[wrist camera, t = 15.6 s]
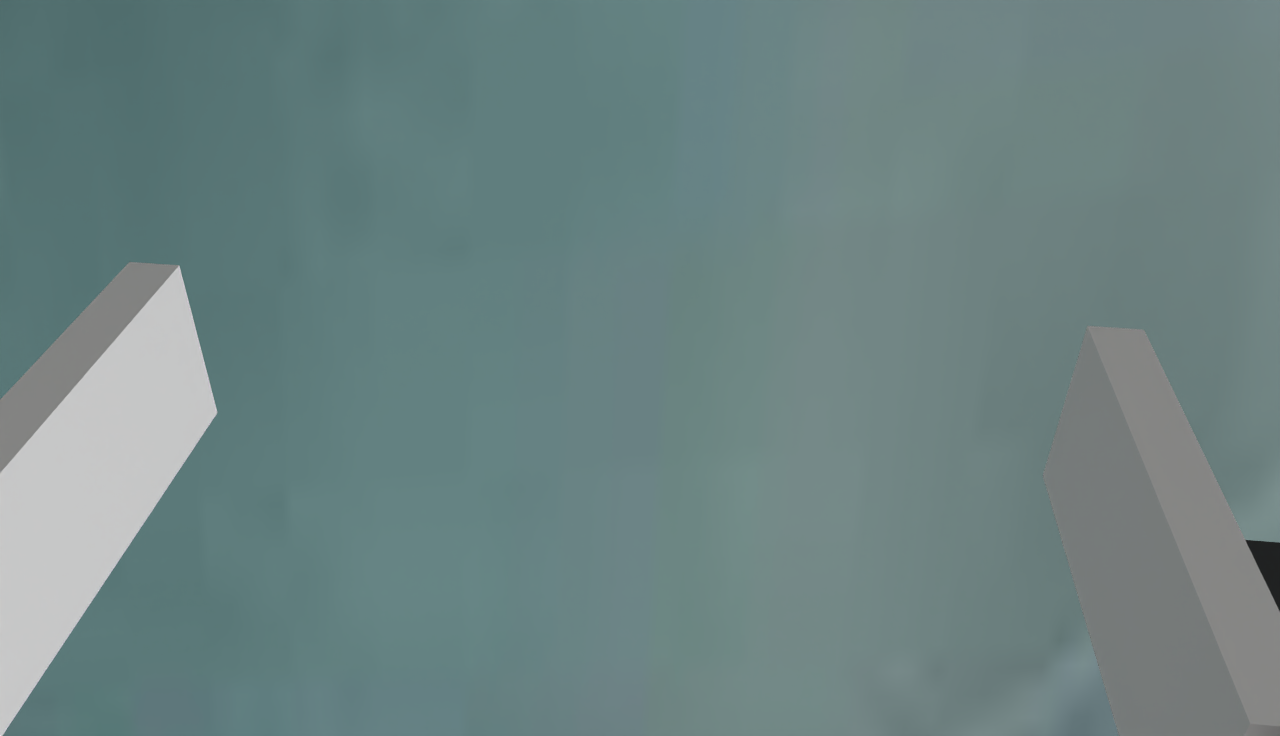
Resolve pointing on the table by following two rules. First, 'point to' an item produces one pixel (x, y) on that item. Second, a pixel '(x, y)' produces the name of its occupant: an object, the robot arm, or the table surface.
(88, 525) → the robot arm
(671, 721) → the table surface
